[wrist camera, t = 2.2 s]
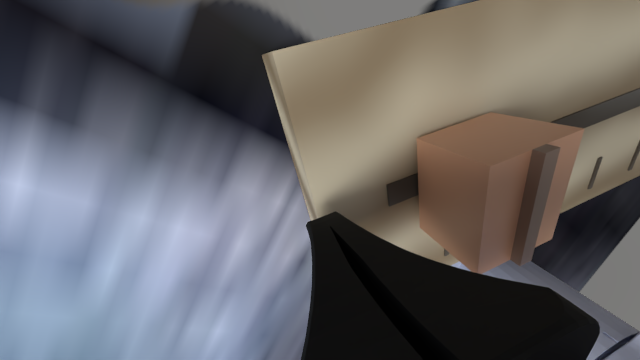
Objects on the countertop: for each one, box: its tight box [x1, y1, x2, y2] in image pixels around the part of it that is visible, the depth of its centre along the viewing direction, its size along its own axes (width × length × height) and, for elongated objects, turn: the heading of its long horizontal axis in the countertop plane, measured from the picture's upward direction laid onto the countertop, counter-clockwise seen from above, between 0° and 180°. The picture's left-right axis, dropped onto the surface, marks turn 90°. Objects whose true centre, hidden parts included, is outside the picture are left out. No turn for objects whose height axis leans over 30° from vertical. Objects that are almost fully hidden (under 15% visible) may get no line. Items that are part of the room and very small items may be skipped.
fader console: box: [262, 0, 640, 266], centre depth 15 cm, size 14×30×3 cm, turn 103°
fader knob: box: [417, 112, 584, 274], centre depth 11 cm, size 5×4×4 cm
